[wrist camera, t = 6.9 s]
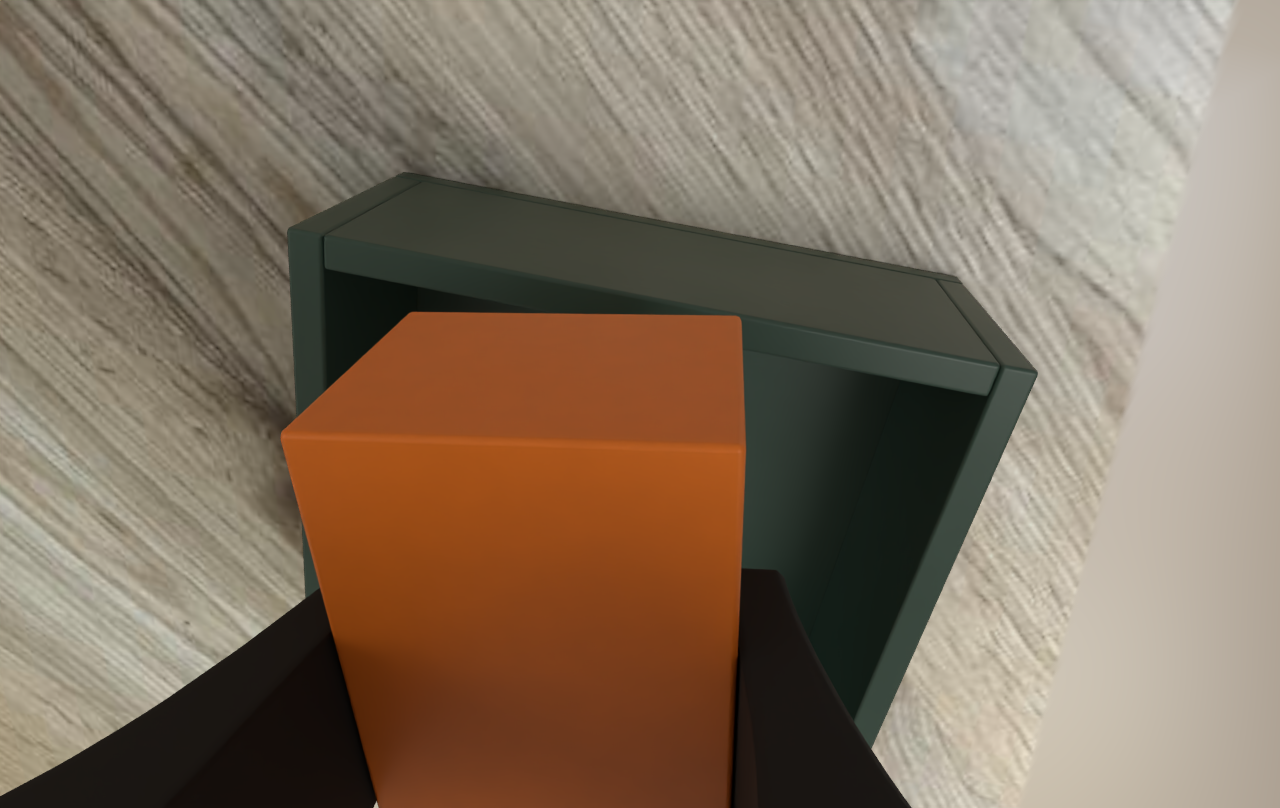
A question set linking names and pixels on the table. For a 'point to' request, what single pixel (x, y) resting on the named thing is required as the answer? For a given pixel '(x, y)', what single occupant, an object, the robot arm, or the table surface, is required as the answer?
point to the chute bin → (772, 369)
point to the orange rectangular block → (534, 556)
